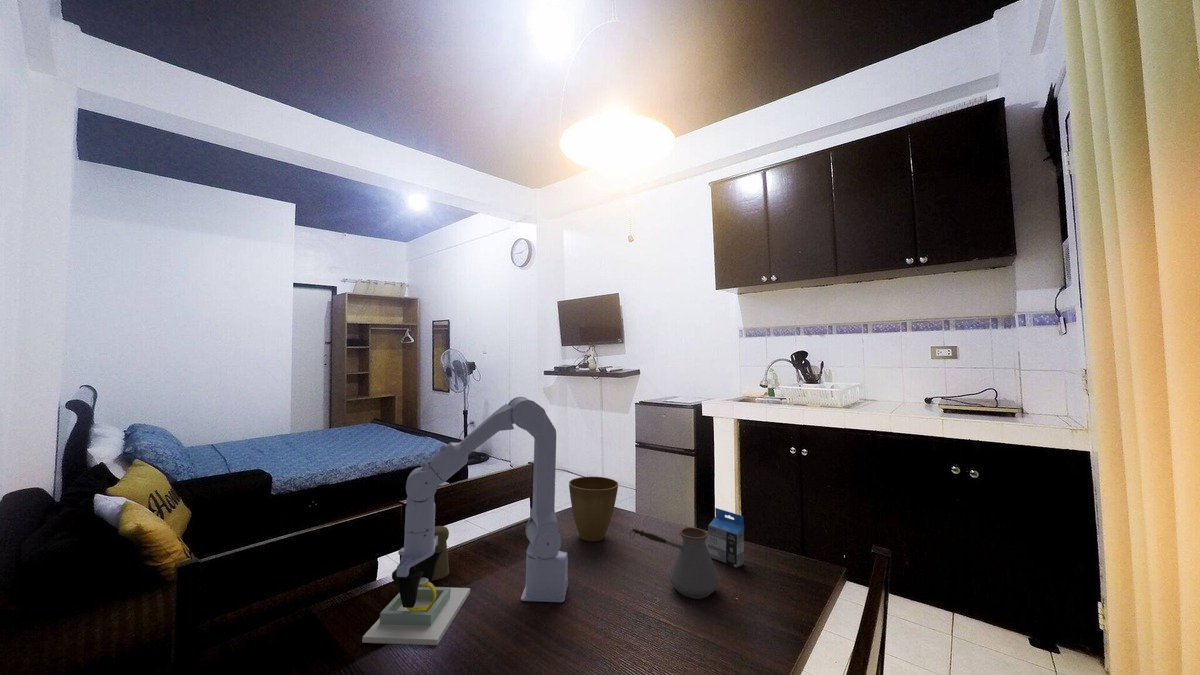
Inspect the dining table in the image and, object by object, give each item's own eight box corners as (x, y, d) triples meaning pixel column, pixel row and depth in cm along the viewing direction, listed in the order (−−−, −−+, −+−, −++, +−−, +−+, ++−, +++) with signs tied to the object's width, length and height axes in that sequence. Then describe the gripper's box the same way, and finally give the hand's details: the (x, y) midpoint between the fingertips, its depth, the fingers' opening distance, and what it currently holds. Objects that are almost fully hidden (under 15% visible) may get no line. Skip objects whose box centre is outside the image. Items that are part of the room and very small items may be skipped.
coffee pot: (703, 574, 107) (703, 512, 108) (729, 599, 96) (729, 530, 97) (621, 585, 101) (622, 520, 102) (638, 613, 90) (639, 539, 91)
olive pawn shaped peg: (440, 581, 102) (442, 533, 102) (417, 578, 103) (419, 531, 104) (454, 569, 108) (455, 524, 108) (432, 566, 109) (433, 522, 109)
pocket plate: (470, 592, 97) (470, 579, 97) (437, 645, 79) (437, 628, 79) (408, 590, 97) (409, 577, 98) (362, 642, 79) (363, 625, 80)
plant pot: (600, 552, 119) (600, 492, 120) (557, 539, 127) (558, 483, 128) (626, 534, 131) (627, 480, 132) (586, 523, 139) (587, 473, 140)
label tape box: (707, 556, 117) (707, 510, 117) (715, 552, 119) (715, 507, 120) (736, 568, 110) (736, 519, 111) (744, 563, 113) (744, 515, 114)
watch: (435, 607, 90) (439, 577, 90) (432, 614, 87) (435, 584, 88) (405, 606, 89) (409, 576, 90) (401, 614, 86) (405, 583, 87)
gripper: (416, 515, 97) (414, 577, 96) (382, 542, 82) (379, 616, 81) (448, 515, 96) (445, 578, 96) (418, 543, 82) (416, 617, 81)
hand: (417, 596), depth 88 cm, fingers open, 7 cm apart
